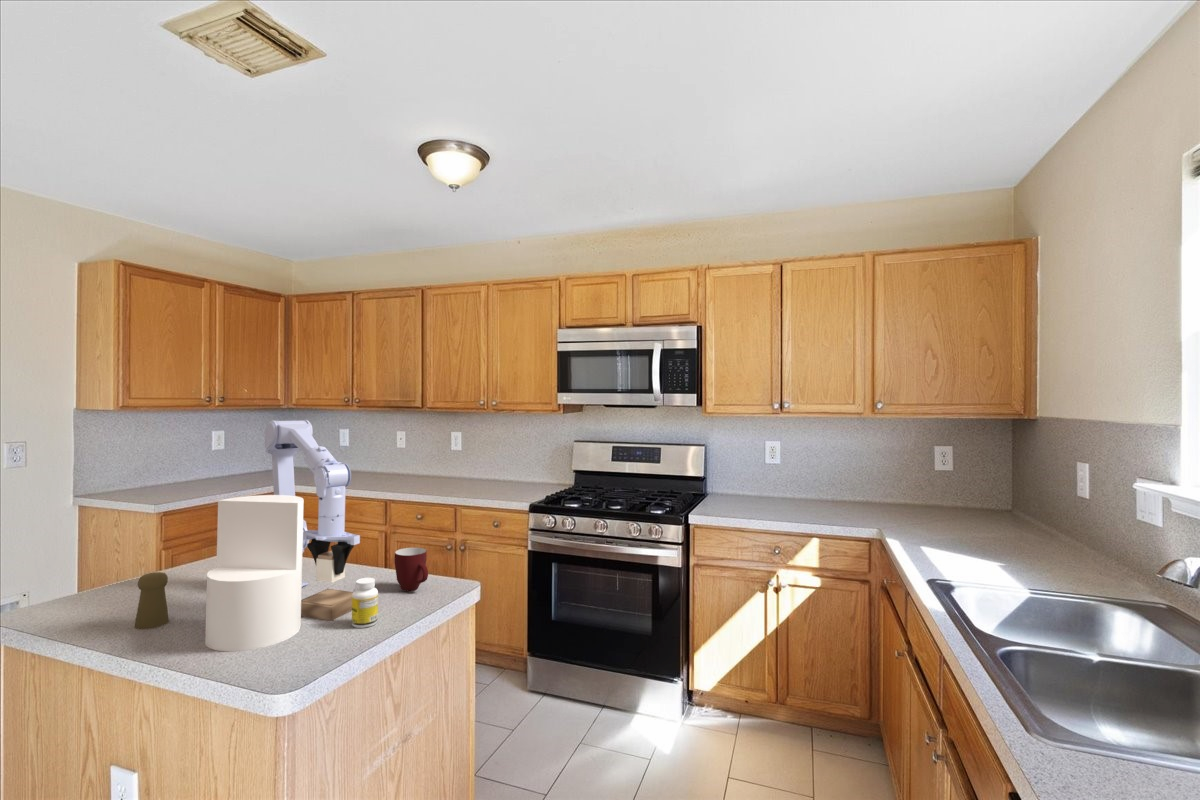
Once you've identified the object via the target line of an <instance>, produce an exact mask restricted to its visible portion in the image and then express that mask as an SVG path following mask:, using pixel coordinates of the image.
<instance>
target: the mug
mask: <svg viewBox="0 0 1200 800" xmlns="http://www.w3.org/2000/svg"><path fill="white" fill-rule="evenodd" d="M427 555H428V553H427V549H425V548H422V547H406V548H405V547H404V548H400V549H398V550H395V551H394V559H393V560H394V570H395V574H396V580H397V583H398V585H399V587H400V589H401V591H403V592H413V591H414V592H415V591H417V590H418V589H419V587H420V585H421V584H423V583H425V582H426V581H427V580H428V578H429V569H428V567H427Z"/></svg>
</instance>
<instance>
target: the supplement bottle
mask: <svg viewBox="0 0 1200 800" xmlns="http://www.w3.org/2000/svg"><path fill="white" fill-rule="evenodd" d="M375 585H376V579H375V578H374V577H362V578H358V579H357V580H356V581H355V588H356V589H355V590H353V591H352V592H353V594H352V611H351V626H352V627H353V628H356V629H367V628H370V627H373V626H375V625H377V623H378V620H379V617H378V615H379V609H378V608H379V591H378V589H377V588H376V587H375Z"/></svg>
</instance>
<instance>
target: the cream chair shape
mask: <svg viewBox="0 0 1200 800" xmlns="http://www.w3.org/2000/svg"><path fill="white" fill-rule="evenodd" d="M304 503H305V502H304V498H303V497H301V496H296V495H295V496H290V495H274V494H265V495H264V494H259V495H258V494H257V495H246V496H238V497H231V498H225V499H219V500H217V526H216V527H217V530H216V531H217V532H216V533H217V536H216V567H213V568H212V569H210V570H209V571H208V572H207V573H206V596H205V597H206V601H205V604H206V606H205V640H204V641H205V646H206V647H207V648H208V649H211V650H214V651H216V652H217V651H219V652H220V651H221V652H243V651H252V650H257V649H263V648H266V647H270V646H273V645H277V644H279V643H283V642H284V641H287V640H289V639H290V638H292V637H294V636H295V635H296V634H298V632H300V629H301V626H302V625H301V623H302V616H301V600H302V589H303V588H302V582H303V579H302V578H303V553H302V550H303V520H304Z"/></svg>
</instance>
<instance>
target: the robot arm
mask: <svg viewBox="0 0 1200 800" xmlns="http://www.w3.org/2000/svg"><path fill="white" fill-rule="evenodd" d="M313 432H314V431H313V425H312V423H311V422H310V421H309V420H308V419H303V420H302V419H301V420H274V419H273V420H270V421H269V422H268V423H267V424H266V425H265V429H264V447H265V453H268V454H270V455H271V462H272V463H271V464H272V482H273V483H272V485H273V486H272V487H273V495H290V496H296V491H295V490H296V488H295V487H296V486H295V484H296V483H295V468H294V456H295V455H296V453H298V452H301V453H303V454H304V457H303V458H304V459H303V462H305V464H306V465H307V467H308V468H309V470H310V471H311V472H312V474H313V475H314V476H313V479H314V481H313V482H314V485H315V487H316V490H315V491H316V492H315V493H316V496H317V497H318V517H317V530H316V529H315V530H312V529H309V530H308V527H307V525H308V524H307V521H306V520H305V519H303V550H302V554H303V553H305V550H306V548H308V550H309V553H311V556H312V558H313V561H314V564H315V565H316V559H317V558H318V555H319V554H322V553H325V552H328V551H330V550H329V548H331V551H332V552H333V557H334V571H335V575H338V574H341V573H343V571H344V568H345V569H346V564H347V560H348V558H349V556H350V553H351V551H352V550H353V549H354V546H355V545H359V544H361V541H360V540H361V535H360V534H354V533H350V532H347V531H345V530H346V529H345V528H346V527H345V525H346V524H345V523H346V491H347V490H346V488H347V487H349V485H350V484H351V479H352V472H351V469H350V466H349V465H348V464H347V462H341V461H337V459H336V458H335V457H334V456H333V455H332V453H331V452H330V451H329V450H328V449H327V448H326V446H321V445H320V446H319V444H318V443H317V441H316V439H315V438H314V437H313V434H314V433H313ZM310 540H311V541H310ZM331 543H335V544H333V545H331ZM330 545H331V546H330ZM308 585H309V582H307V581H305V582H304V581H302V587H305V586H308Z"/></svg>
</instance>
